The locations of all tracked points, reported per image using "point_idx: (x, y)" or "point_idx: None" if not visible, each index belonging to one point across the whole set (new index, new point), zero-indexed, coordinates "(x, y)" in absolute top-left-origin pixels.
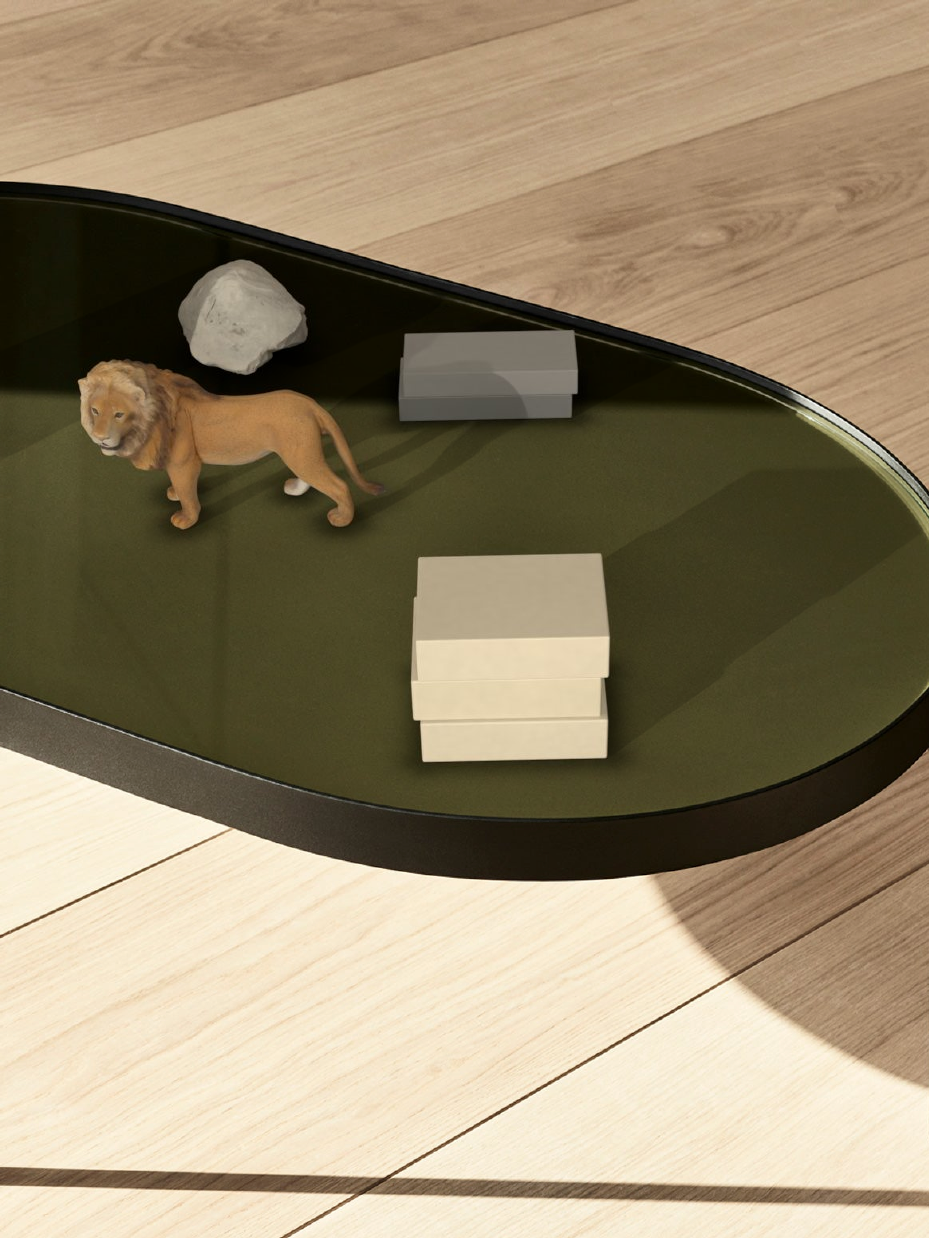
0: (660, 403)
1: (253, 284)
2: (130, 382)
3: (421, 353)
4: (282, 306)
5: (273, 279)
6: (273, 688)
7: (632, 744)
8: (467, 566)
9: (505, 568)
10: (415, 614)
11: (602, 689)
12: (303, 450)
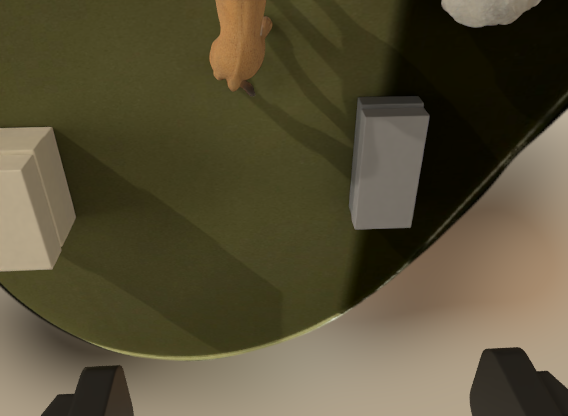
0: (360, 252)
1: None
2: None
3: (394, 129)
4: (486, 12)
5: (532, 1)
6: (17, 29)
7: None
8: (17, 199)
9: (20, 221)
10: (12, 151)
11: None
12: (210, 61)
